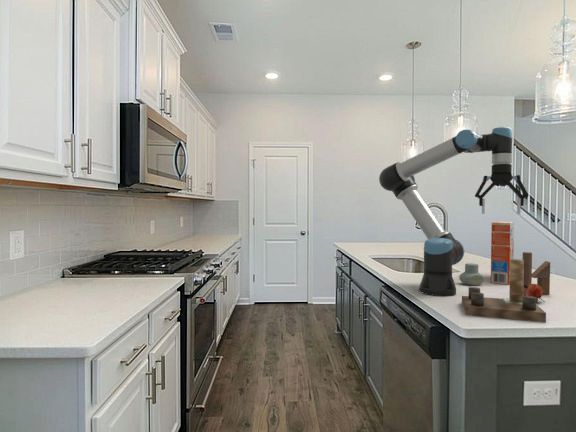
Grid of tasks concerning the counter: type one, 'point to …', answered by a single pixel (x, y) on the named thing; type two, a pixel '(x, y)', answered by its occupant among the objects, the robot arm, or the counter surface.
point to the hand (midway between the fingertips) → (500, 214)
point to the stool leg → (516, 280)
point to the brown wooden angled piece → (536, 273)
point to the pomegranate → (533, 291)
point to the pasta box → (501, 251)
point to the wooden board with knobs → (502, 307)
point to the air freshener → (471, 275)
